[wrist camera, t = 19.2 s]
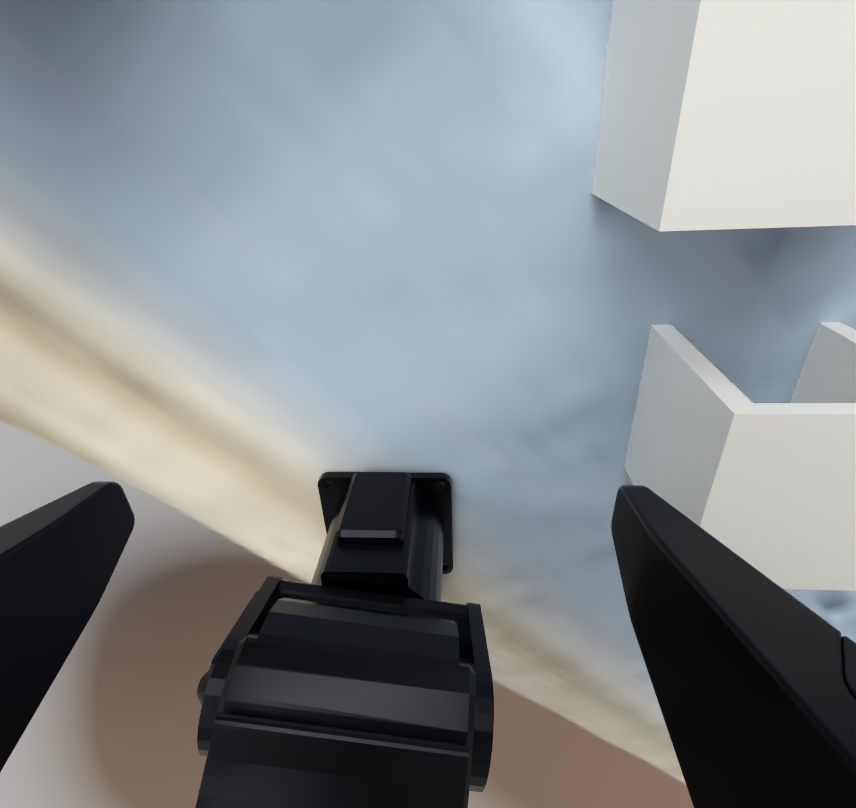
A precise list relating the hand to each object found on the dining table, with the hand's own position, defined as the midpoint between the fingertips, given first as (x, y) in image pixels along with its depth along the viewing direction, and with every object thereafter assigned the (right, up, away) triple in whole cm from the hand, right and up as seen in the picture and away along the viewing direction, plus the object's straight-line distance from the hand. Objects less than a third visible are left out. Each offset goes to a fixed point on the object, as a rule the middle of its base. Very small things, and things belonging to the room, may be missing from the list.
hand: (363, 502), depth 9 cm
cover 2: (+14, +2, +12) cm, 19 cm away
